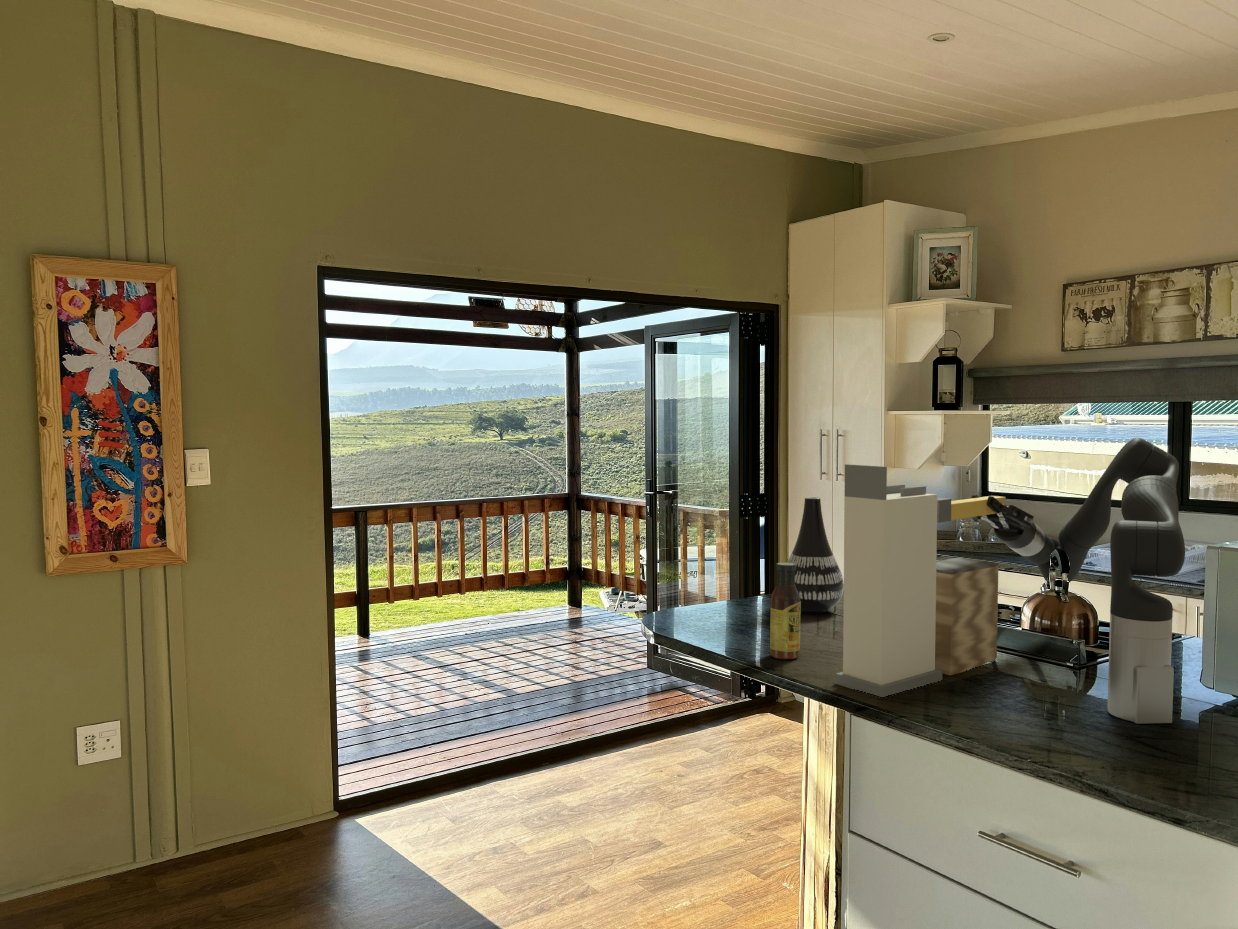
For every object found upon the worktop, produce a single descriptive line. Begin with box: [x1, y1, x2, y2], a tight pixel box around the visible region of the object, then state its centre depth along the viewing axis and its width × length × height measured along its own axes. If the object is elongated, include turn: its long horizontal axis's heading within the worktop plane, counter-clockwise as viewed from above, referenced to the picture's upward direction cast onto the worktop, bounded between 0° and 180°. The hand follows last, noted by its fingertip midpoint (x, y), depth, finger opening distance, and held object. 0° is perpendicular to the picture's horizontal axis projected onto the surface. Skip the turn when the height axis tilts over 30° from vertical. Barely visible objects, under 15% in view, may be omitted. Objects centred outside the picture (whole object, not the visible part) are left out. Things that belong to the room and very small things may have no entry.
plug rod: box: [937, 495, 1007, 524], centre depth 189 cm, size 24×4×4 cm, turn 126°
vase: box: [786, 496, 844, 615], centre depth 237 cm, size 16×16×30 cm
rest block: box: [935, 557, 1000, 676], centre depth 189 cm, size 16×9×21 cm, turn 126°
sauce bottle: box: [769, 562, 801, 660], centre depth 195 cm, size 6×6×20 cm
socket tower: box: [834, 463, 943, 698], centre depth 176 cm, size 18×11×42 cm, turn 126°
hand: (981, 499), depth 192 cm, fingers closed on plug rod, 3 cm apart
